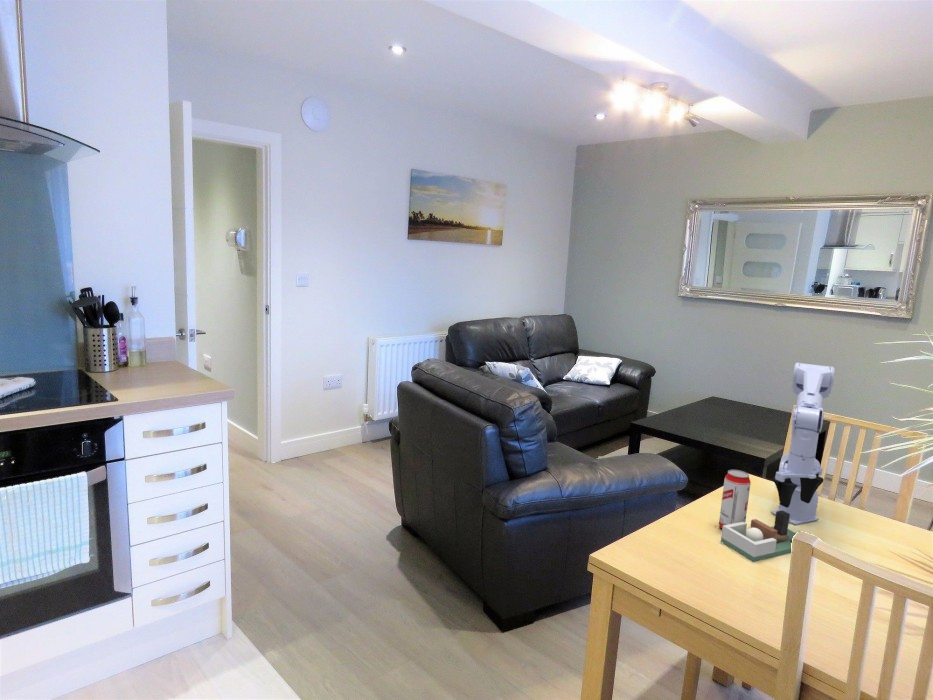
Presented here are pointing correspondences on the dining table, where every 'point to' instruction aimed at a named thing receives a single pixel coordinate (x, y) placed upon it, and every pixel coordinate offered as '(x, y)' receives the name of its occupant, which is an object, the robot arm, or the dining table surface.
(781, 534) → the slider
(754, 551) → the pitch
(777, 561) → the dining table surface
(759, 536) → the ball
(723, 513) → the beer can
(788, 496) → the robot arm
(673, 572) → the dining table surface
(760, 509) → the dining table surface
